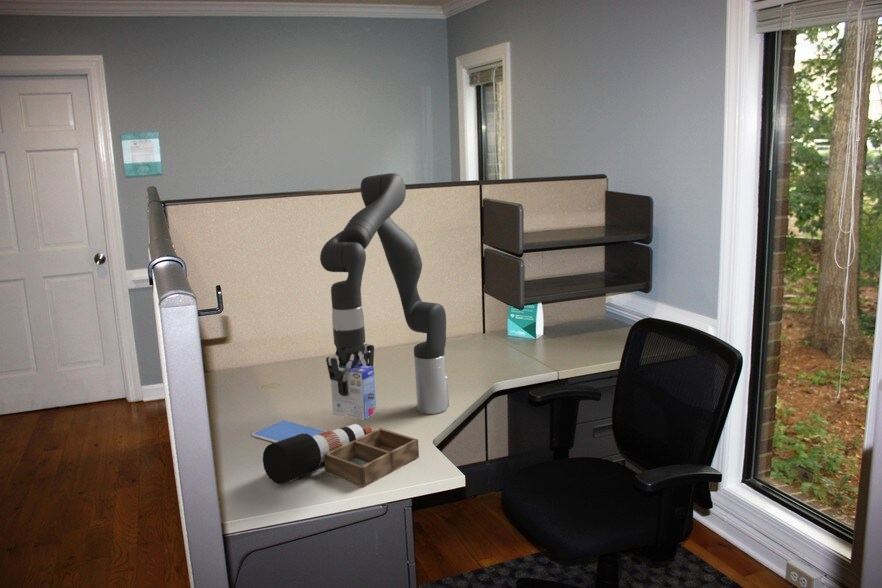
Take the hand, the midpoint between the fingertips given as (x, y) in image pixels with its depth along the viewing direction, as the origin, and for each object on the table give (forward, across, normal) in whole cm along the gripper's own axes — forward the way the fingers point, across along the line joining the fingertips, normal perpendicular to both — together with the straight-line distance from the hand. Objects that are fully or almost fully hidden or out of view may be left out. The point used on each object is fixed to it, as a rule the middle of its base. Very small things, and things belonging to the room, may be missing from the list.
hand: (353, 391), depth 178 cm
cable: (+22, 0, -12) cm, 25 cm away
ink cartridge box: (+6, 0, 0) cm, 6 cm away
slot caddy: (+21, -5, 0) cm, 22 cm away
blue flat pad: (+22, -5, -34) cm, 41 cm away
